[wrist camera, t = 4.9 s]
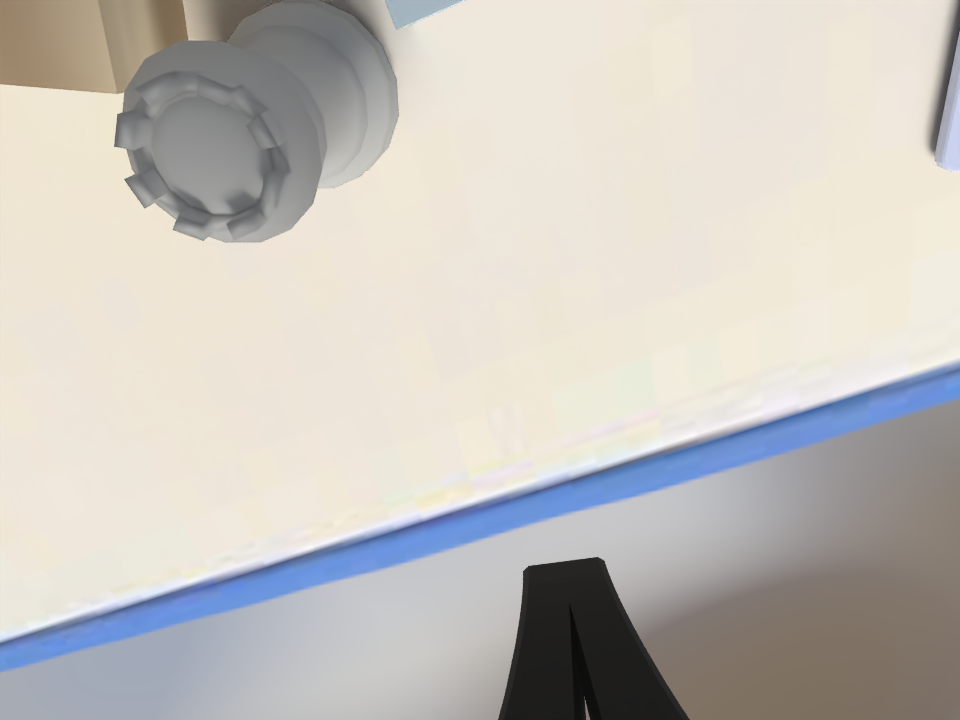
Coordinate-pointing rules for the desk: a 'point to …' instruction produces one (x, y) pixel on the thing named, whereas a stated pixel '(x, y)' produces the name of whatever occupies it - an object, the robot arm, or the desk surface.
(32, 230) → the desk surface
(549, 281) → the desk surface
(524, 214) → the desk surface
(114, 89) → the beech block
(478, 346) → the desk surface
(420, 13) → the pale blue block
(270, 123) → the rook chess piece
